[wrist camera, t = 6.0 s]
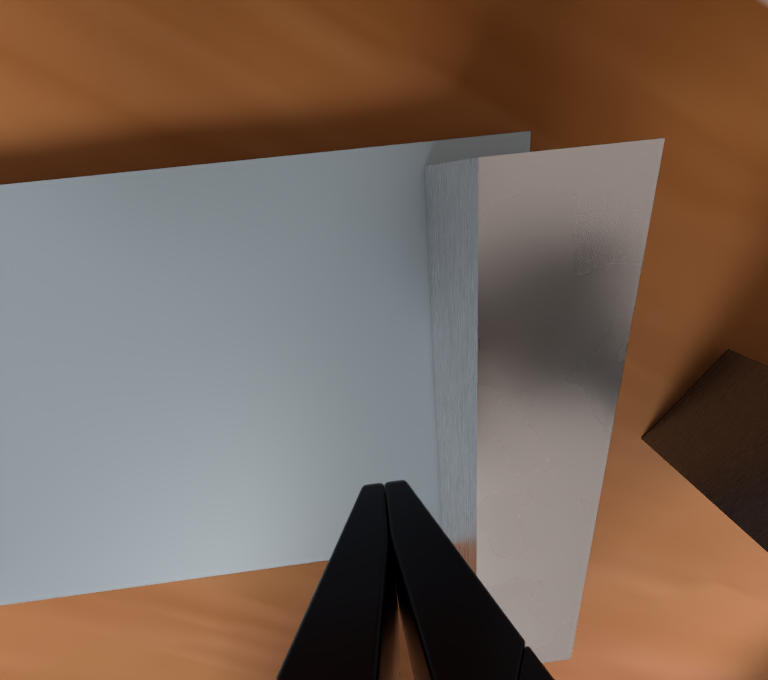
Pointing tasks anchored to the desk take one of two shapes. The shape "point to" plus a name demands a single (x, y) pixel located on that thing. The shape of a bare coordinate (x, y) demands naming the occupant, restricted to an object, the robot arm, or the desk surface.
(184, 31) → the desk surface
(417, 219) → the vise base
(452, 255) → the bar
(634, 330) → the desk surface
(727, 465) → the steel block
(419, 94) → the desk surface
